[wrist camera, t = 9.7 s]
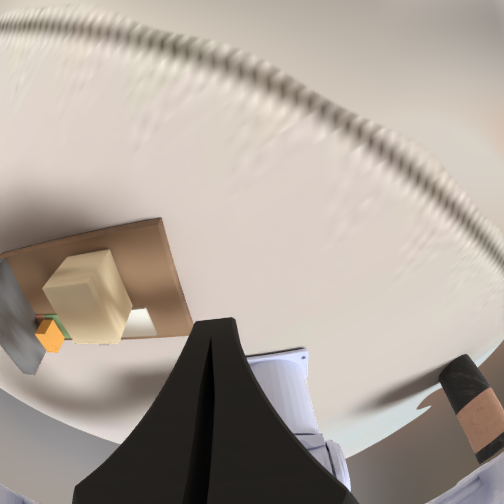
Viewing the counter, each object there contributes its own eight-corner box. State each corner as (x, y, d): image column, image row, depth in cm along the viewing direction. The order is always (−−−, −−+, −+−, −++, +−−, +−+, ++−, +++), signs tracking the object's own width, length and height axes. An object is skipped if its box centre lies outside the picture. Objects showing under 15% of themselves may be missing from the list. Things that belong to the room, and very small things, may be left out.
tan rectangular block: (144, 329, 21) (134, 366, 17) (104, 331, 20) (91, 366, 17) (109, 249, 17) (87, 282, 13) (67, 256, 17) (42, 288, 13)
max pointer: (64, 337, 20) (57, 352, 19) (54, 337, 20) (47, 352, 19) (53, 319, 19) (44, 334, 18) (43, 319, 19) (34, 333, 18)
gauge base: (193, 325, 23) (188, 384, 17) (44, 331, 22) (23, 373, 17) (161, 217, 18) (136, 266, 12) (2, 253, 17) (-34, 290, 12)
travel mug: (450, 358, 33) (501, 449, 15) (475, 348, 33) (523, 428, 16) (430, 385, 36) (470, 470, 19) (456, 375, 37) (495, 450, 20)
